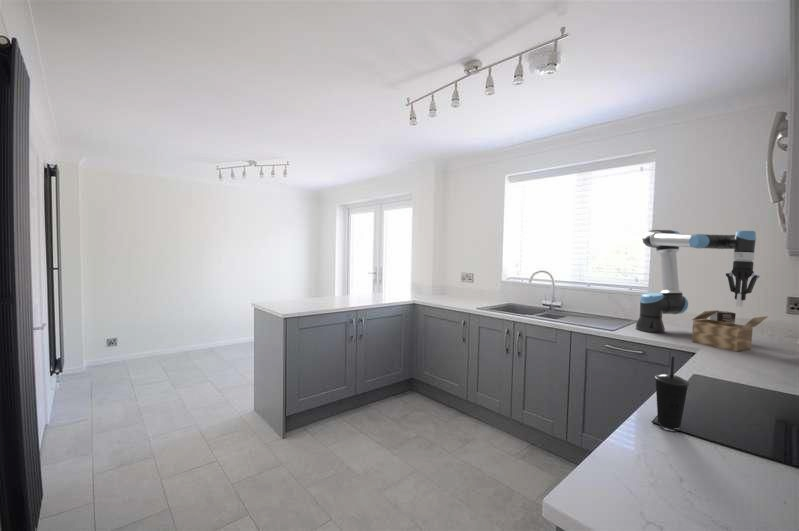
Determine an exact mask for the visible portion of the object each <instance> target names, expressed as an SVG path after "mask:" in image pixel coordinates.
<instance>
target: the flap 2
mask: <svg viewBox="0 0 799 531" xmlns="http://www.w3.org/2000/svg"><path fill="white" fill-rule="evenodd" d="M767 318H769V316H768V315H765V316H757V317H755V316H754V317H753V318H751V319H750V320H749V321H748V322H746V323H745V324H743V325H744V326H743V327H741V328H740V329H745V328H752V327H753V328H756V327H757V326H758V325H759V324H761V323H762V322H763V321H765V320H766V319H767Z"/></svg>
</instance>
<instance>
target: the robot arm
mask: <svg viewBox="0 0 799 531" xmlns="http://www.w3.org/2000/svg"><path fill="white" fill-rule="evenodd" d="M641 239H642V242H643V244H644V245H645V246H647V247H649V248H651V249H653V248H654V249H656V253H658V254H659V263H660V264H659V266H660V277H661V279H660V280H661V289H662V290H661V291H660V292H658V293H657V292H647V293H643V294H641V296H640V300H639V302H640V303H639V317H638V320H637V321H636V324H635V329H636V330H637V329H638V331H641V330H642V332H646V331H648V333H654V332H658V333H657V334H660V333H661V334H663V333H662V332H664V333H665V331H666V328H665V325H664V322H663V315H681V314H684V313H685V312H686V311H687V310H688V308H689V301H688V299H687V298H686V297H685V296H684V295H683V292H682V291H680V286H679V285H680V284H679V273H678V271H679V270H678V261H677V260H678V259H677V253H678V252H679V249H680V248H682V247H683V248H693V249H712V250H713V249H714V250H715V249H716V250H732V249H733V263H732V269H731V271H729V273H725V276H726V277H727V280H728V281H727V282H728V284H729V285H728V286H729V290H730V292H732V293H734V300H736V305H735V306H736V307H740V308H741V307H743V306H744V305H743V304H744V301H746V300H747V294H751V293H752V292H753V290H754V286H755V285H756V282H757V281H758V279H759V278H760V275H758V274H756V273H755V272H754V260H755V249H756V248H755V247H756V242H757V233H756V231H754V230H736V231H735V234H707V233H706V234H704V233H697V234H696V233H680V232H679V231H677V230H672V229H650V230H648V231H646V232H645V233H643V235H642V238H641ZM734 277H735V281H734ZM750 277H751V279H750V281H749V278H750ZM748 281H749V283H748Z"/></svg>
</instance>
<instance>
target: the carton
mask: <svg viewBox="0 0 799 531" xmlns="http://www.w3.org/2000/svg"><path fill="white" fill-rule="evenodd" d="M744 325H745V324H738V323H735V324H733V323H727V322H721V321H714V320H710V319H708V318H707V319H700V320H692V338H691V342H692V343H695V344H699V345H700V344H701V345H704V346H709V347H714V348H719V349H724V350H728V351H732V352H737V353H740V352H745V351H750V350H752V342H753V341H752V340H753V328H754V327H752V328H745V329H740V328H741V327H743V326H744Z"/></svg>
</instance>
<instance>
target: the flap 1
mask: <svg viewBox="0 0 799 531" xmlns="http://www.w3.org/2000/svg"><path fill="white" fill-rule="evenodd" d="M718 311H719V310H718V309H717V310H716V309H715V310H705V311H703V312H701V313H700V314H698V315H697V316H695V317H693V318H692V319H691V321H694V320H704V319H708V318H710V316H711V315H713V314H714V313H716V312H718Z"/></svg>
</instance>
